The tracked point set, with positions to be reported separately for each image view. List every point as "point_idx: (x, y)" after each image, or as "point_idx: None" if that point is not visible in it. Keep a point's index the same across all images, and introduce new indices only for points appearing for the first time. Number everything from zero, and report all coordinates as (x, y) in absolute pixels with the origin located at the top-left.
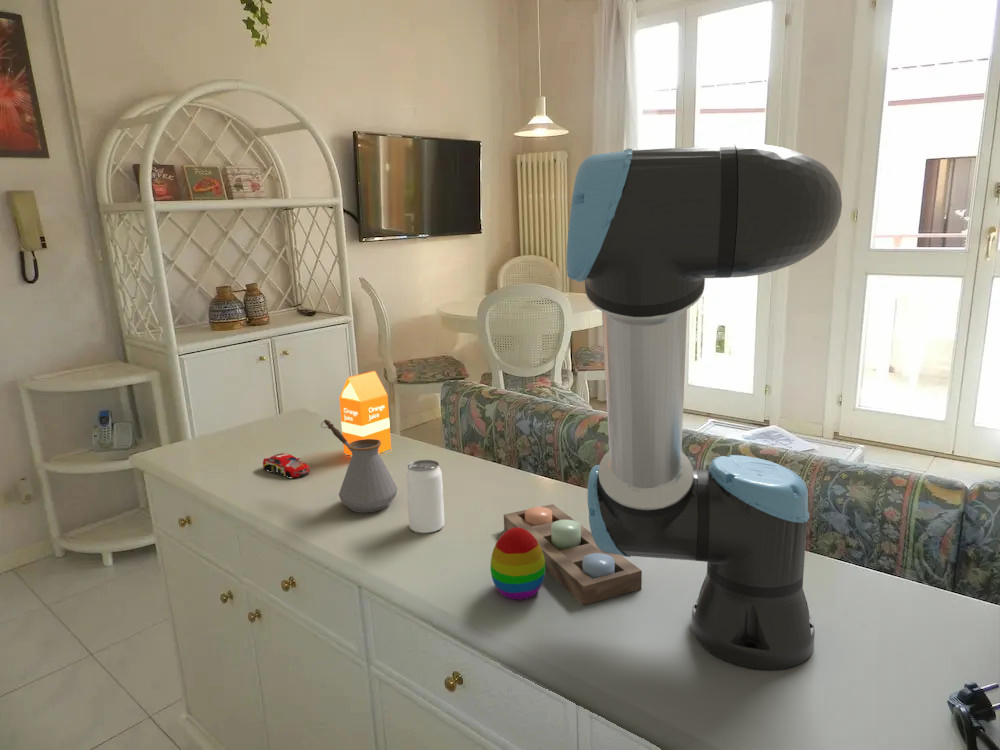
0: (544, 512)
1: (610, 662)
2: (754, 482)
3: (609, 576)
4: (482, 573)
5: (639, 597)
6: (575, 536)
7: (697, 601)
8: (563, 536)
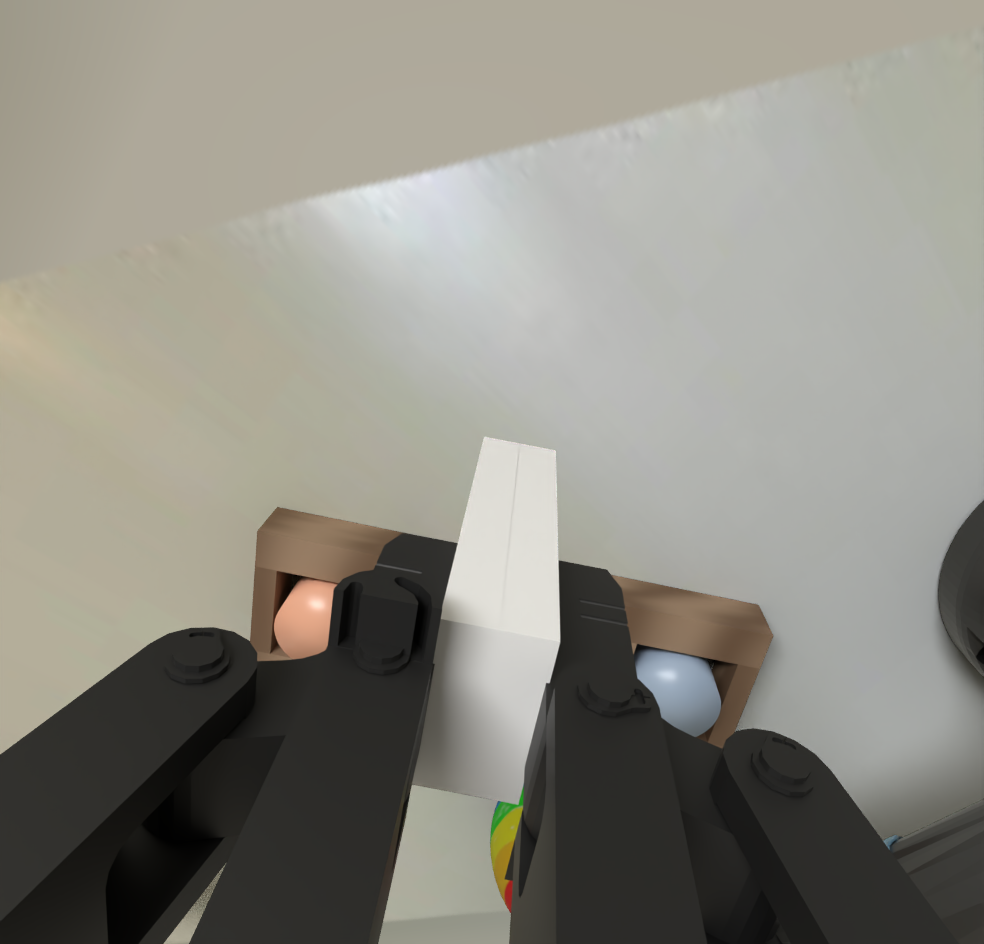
0: (327, 620)
1: (885, 821)
2: None
3: (730, 709)
4: (442, 799)
5: (779, 633)
6: None
7: (973, 638)
8: None
